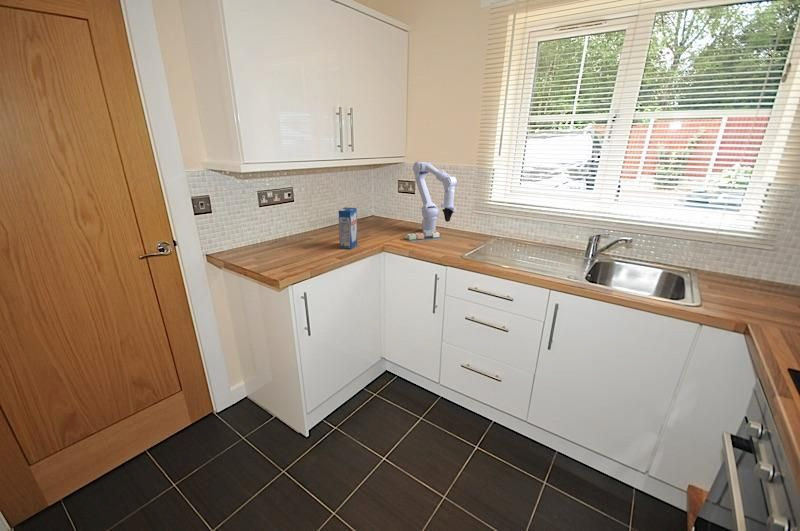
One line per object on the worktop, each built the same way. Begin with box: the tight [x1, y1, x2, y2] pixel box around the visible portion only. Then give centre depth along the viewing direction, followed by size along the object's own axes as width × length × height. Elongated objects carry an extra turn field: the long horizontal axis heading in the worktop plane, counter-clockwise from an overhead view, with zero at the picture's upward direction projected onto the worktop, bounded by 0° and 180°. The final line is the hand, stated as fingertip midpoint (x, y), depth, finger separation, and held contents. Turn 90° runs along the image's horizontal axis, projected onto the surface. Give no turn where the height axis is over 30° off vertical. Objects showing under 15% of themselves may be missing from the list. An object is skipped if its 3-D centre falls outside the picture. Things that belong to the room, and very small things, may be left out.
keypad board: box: [403, 235, 444, 243], centre depth 198 cm, size 12×20×1 cm, turn 113°
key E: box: [406, 233, 416, 241], centre depth 195 cm, size 4×4×2 cm
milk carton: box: [338, 207, 358, 250], centre depth 180 cm, size 10×6×20 cm, turn 168°
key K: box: [422, 230, 432, 236], centre depth 198 cm, size 4×4×2 cm
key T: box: [414, 232, 424, 239], centre depth 197 cm, size 4×4×2 cm
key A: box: [431, 231, 440, 238], centre depth 200 cm, size 4×4×2 cm
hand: (447, 221), depth 202 cm, fingers closed
